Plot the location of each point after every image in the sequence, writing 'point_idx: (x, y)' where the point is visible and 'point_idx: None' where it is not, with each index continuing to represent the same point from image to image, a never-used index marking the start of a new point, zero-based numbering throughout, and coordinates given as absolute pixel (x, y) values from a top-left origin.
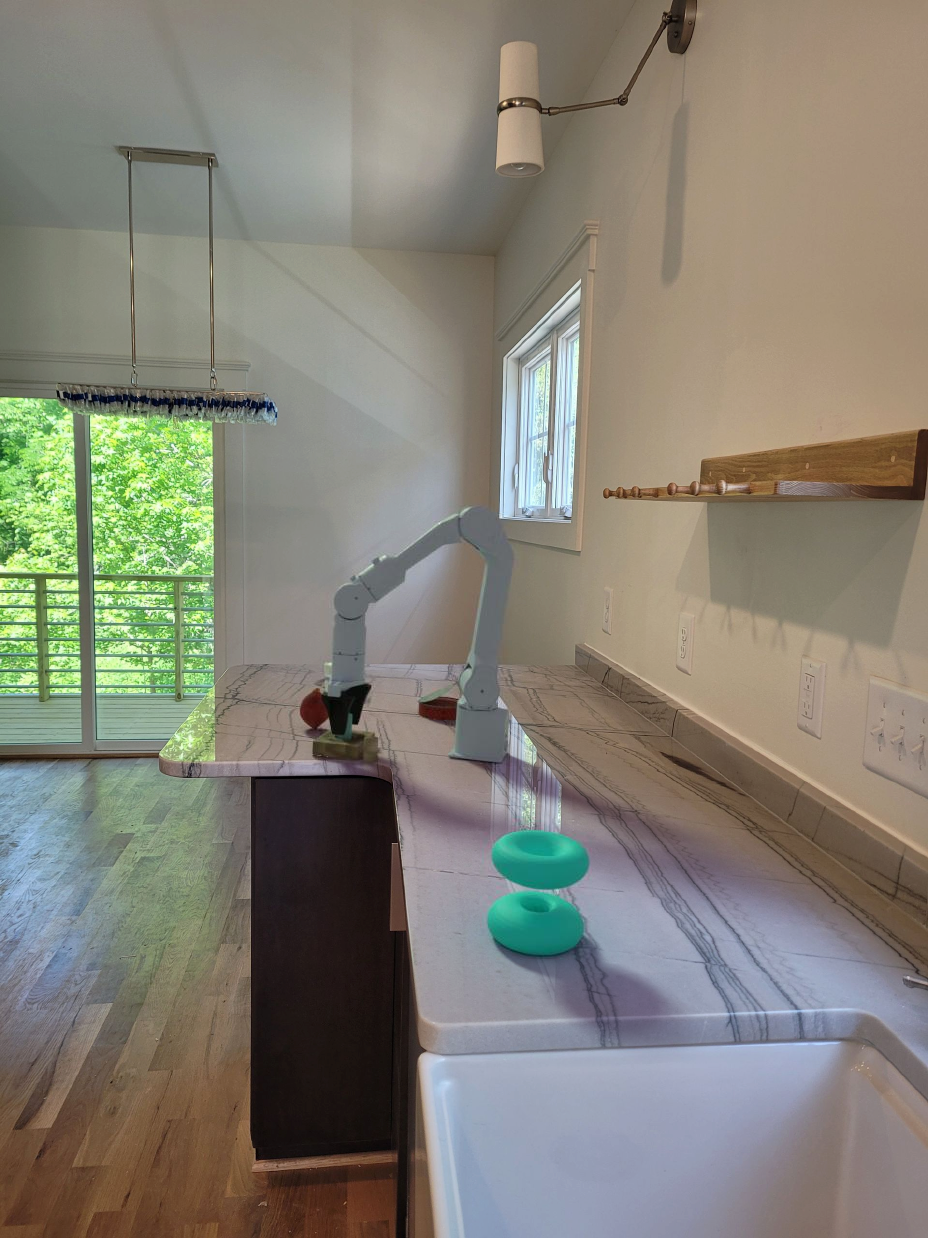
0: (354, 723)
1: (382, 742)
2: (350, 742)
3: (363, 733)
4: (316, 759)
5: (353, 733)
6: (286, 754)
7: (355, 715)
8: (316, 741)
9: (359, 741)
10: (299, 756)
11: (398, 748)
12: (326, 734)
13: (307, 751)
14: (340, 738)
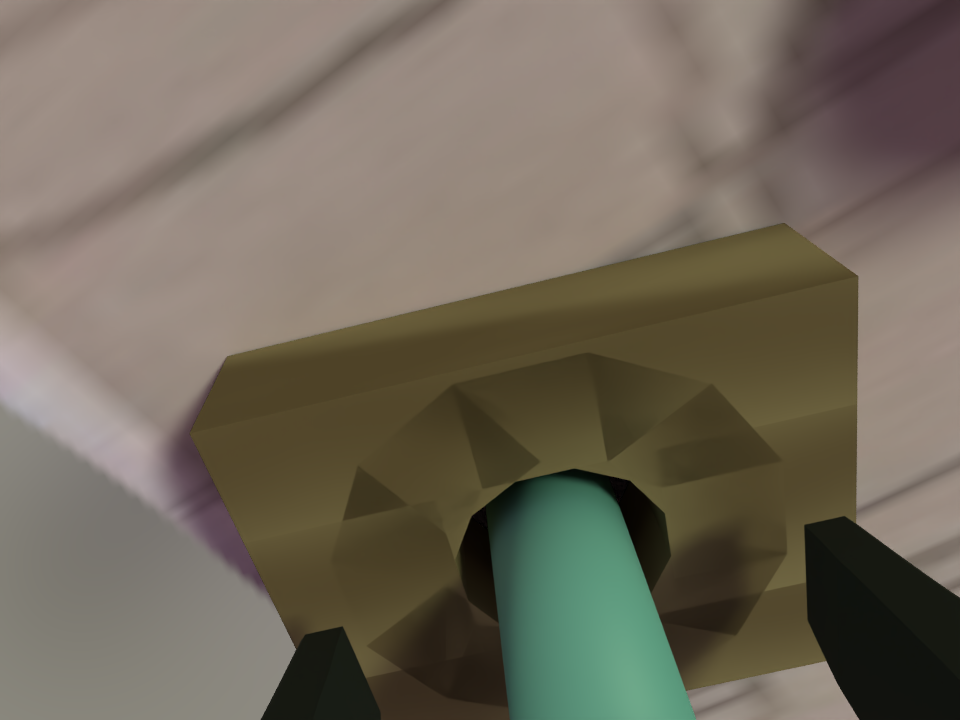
0: (814, 610)
1: (935, 553)
2: (421, 677)
3: (775, 609)
4: (170, 439)
5: (725, 555)
6: (64, 128)
7: (870, 693)
8: (217, 462)
9: (500, 705)
10: (120, 277)
11: (820, 688)
12: (533, 389)
13: (315, 237)
14: (492, 555)
